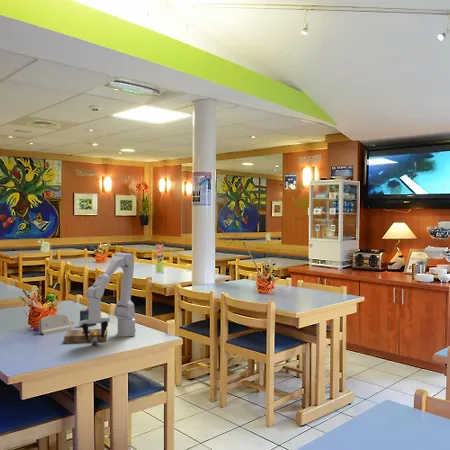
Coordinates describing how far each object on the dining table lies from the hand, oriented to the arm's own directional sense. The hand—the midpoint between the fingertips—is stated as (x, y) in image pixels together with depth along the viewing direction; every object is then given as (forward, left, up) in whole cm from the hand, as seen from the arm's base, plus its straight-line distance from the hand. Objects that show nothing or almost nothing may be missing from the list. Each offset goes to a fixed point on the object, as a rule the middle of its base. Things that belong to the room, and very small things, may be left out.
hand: (94, 338), depth 225 cm
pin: (0, 0, -3) cm, 3 cm away
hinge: (+24, -30, -4) cm, 39 cm away
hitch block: (+5, -11, -3) cm, 13 cm away
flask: (+7, -40, -4) cm, 41 cm away
